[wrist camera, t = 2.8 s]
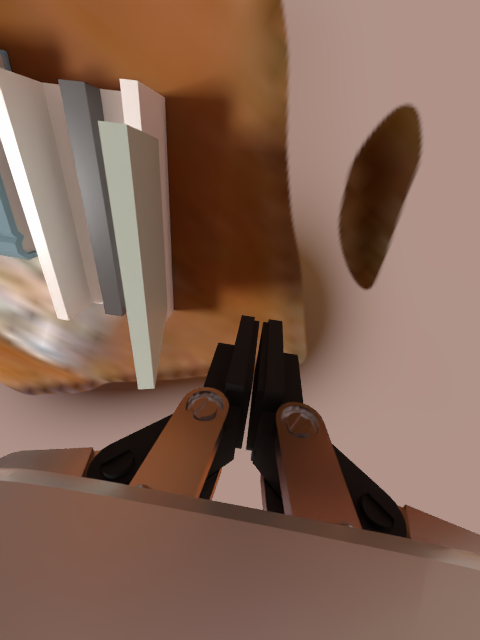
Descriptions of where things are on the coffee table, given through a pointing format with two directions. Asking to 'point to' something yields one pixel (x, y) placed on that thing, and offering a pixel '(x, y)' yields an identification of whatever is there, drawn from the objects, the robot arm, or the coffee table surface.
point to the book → (12, 206)
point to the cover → (138, 238)
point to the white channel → (76, 181)
